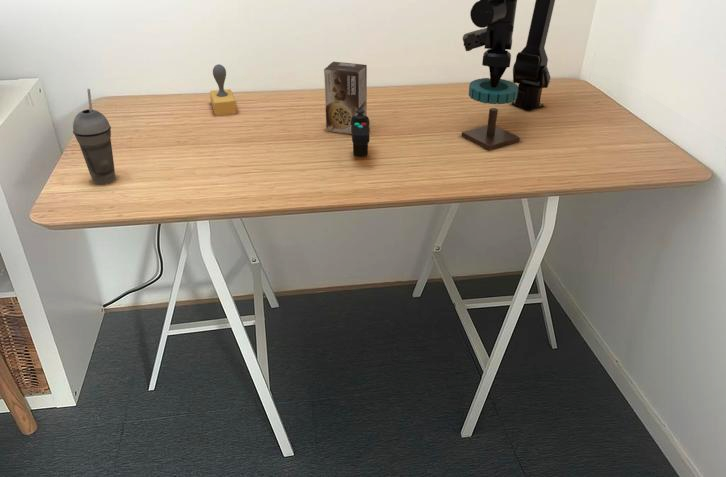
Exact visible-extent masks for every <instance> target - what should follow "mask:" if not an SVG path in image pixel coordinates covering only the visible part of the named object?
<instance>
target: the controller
mask: <svg viewBox="0 0 726 477" xmlns="http://www.w3.org/2000/svg"><path fill="white" fill-rule="evenodd" d="M364 112H365V111H364V110H363V109H358V110H356V113H357V115H356V116H353V117H352V118H351V134H350V135H351V142H352V154H353V157H355V158H366V157H367V156H368V153H369V143H370V142H371V141H370V134H371V133H370V132H371V131H370V118H369V117H368V116H364V115H363V113H364Z"/></svg>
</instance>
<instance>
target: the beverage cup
mask: <svg viewBox="0 0 726 477" xmlns="http://www.w3.org/2000/svg"><path fill="white" fill-rule="evenodd" d="M86 90H87V99H88V100H87V101H88V108H89V109H88V108H87V109H85V110H81V111H80V112H78V113H77V114H76V115H75V117H74V119H73V121H72V133H73V135H74V137H75V139H76V141H77V143H78V145H79V147H80V151H81V153H82V156H83V158H84V161H85V164H86V167H87V170H88V172H89V176H90V177H91V179H92V182H93V184H95V185H98V186H103V185H104V186H105V185H108V184H111V183H113V182H115V180H116V170H115V162H114V161H115V160H114V154H113V147H112V146H113V145H112V132H111V131H112V130H111V129H112V127H111V125H110V122H109V120H108V119H107V117H106V116H105V114H103V113H102V112H100V111H98V110H96V109H93V104H92V94H91V89H90V88H87V89H86Z"/></svg>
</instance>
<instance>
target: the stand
mask: <svg viewBox="0 0 726 477" xmlns="http://www.w3.org/2000/svg"><path fill="white" fill-rule="evenodd" d="M498 112H499V109H498V108H497V107H490V108H489V111H488V119H487V124H486V125H482V126H478V127H475V128H471V129H467V130H464V131H463V130H462V131H461V135H460V136H461V137H462V138H464V139H465V140H467V141H470V142H471V143H473V144H475V145H477V146H479V147H481V148H482V149H485V150H487V151H492V150H495V149H499V148H503V147H506V146H509V145H512V144H515V143H519V142H520V139H521V137H520V136H518V135H516V134H514V133H513V132H510V131H507V130H505V129H503V128H501V127H499V126H498V125H497V120H498Z"/></svg>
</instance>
